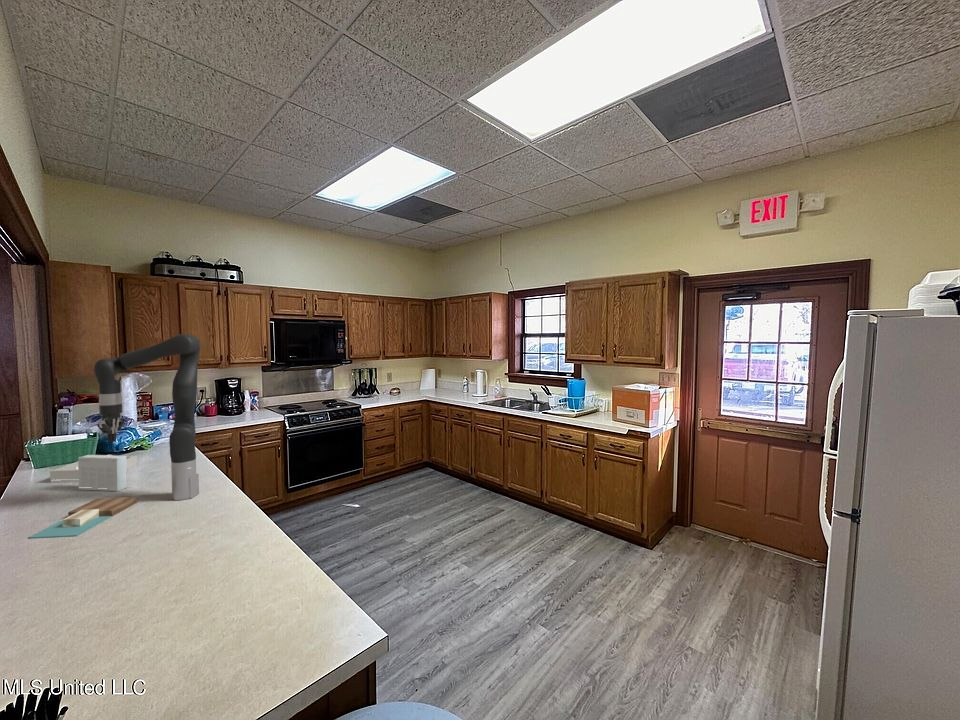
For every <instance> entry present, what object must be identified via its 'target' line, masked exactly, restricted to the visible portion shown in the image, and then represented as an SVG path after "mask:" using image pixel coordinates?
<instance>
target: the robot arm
mask: <svg viewBox="0 0 960 720" xmlns="http://www.w3.org/2000/svg"><path fill="white" fill-rule="evenodd" d="M200 350H201V342H200V340H199V338H198V337H197V336H195V335H194V334H188V333H184V334H183V333H181V334H177V335H174V336H173V337H171V338H168V339H166V340H164V341H161V342H158V343H157V344H153V345H151V346H147V347H144V348H140V349H136V350H133V351H129V352H126V353H123V354H122V355H120V356H117V357H113V358H102V359H99V360H97V361H96V362H95V364H94V367H93V371H94V374H95V375H94V376H95V377H96V380H97V382H98V386H99V387H98V389H99V390H98V391H99V392H98V393H99V395H98V407H99V408H98V409H99V411H98V413H99V415H100V416H101V417H102V418H101V422H100V423H97V424H96V426H97V428H98V429H99V430H100V431H101V432H102V434H106V435H107V442H108V443H114V442H116V441H117V433H118V432H120V431H121V430H122V427H123V425H124V423H125V421H126V419H125V418H122V417H121V414H122V413H123V396H122V391H121V390H122V388H121V387H122V386H121V385H122V384H121V381H120V380H118V379H116V376H115V374H120V373H123V372H125V371H128V370H130V369H133V368H137V367H141V366H144V365H148V364H150V363H152V362H155V361H157V360H159V359H162V358H165V357H170V356H175V355H179V365H178V368H177V371H176V373H175V376H174V378H173V380H172V387H171V388H172V389H171V391H172V392H171V398H172V399H171V400H172V404H173V405H172V406H173V410H174V421H173V428H172V430H171V433H170V434H169V438H168V439H169V441H168V442H169V455H170V461H171V462H170V464H171V465H170V468H171V497H172V500H173V501H183V500H189V499H193V498H195V497H196V496H197V495H199V494H200V481H199V480H200V479H199V475H200V474H199V473H197V453H196V443H195V442H196V439H195V438H196V434H197V432H196V423H195V411H196V404H197V395H198V364H199V358H200V357H199V356H200V352H201V351H200Z"/></svg>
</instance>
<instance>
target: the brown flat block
mask: <svg viewBox="0 0 960 720" xmlns="http://www.w3.org/2000/svg"><path fill="white" fill-rule="evenodd" d="M137 499H138V498H137V496H132V497H131V496H130V497H129V496H128V497H107V498H106V497H105V498H95V499H92V500H91V501H88V502H87V503H85V504H83V505H81V506H78V507H77V508H74V509H73V510H70V511H68V512H67V514H68V515H67V517H69V516H71V515H73V514H75V513H77V512H79V511H81V510H88V509H99V517H101V516H111V517H114V516H116V515H117V514H119V513H121V512H123V511H124V510H126V509H128V508H130V507H132V506H133V505H135V504H137V502H138V500H137Z"/></svg>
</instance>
